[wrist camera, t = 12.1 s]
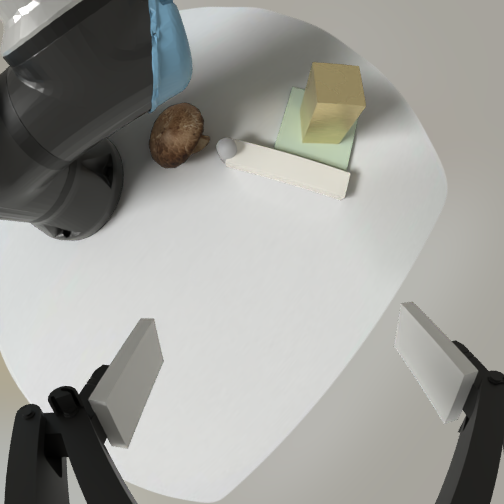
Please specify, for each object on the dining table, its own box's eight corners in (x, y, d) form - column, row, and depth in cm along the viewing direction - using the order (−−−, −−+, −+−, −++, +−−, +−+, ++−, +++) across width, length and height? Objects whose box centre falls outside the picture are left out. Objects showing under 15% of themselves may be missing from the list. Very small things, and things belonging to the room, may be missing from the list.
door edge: (216, 164, 36) (212, 156, 33) (224, 141, 36) (221, 132, 33) (340, 200, 36) (347, 195, 33) (346, 177, 36) (353, 170, 33)
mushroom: (233, 133, 33) (191, 112, 28) (195, 188, 36) (152, 176, 31) (204, 105, 37) (166, 87, 32) (172, 154, 40) (133, 142, 35)
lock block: (302, 143, 35) (317, 102, 24) (299, 110, 35) (312, 62, 24) (338, 144, 35) (366, 106, 24) (335, 111, 35) (358, 66, 24)
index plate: (273, 149, 36) (274, 147, 35) (292, 88, 36) (292, 86, 35) (345, 171, 36) (346, 170, 35) (358, 109, 36) (359, 108, 35)
